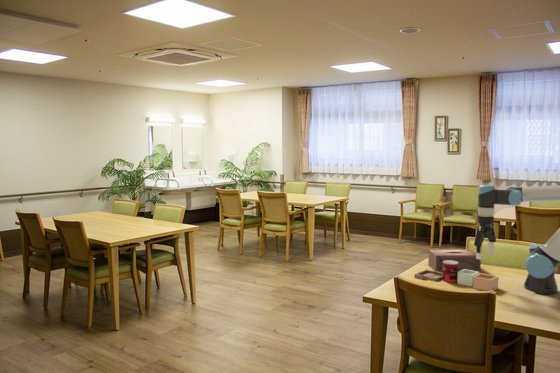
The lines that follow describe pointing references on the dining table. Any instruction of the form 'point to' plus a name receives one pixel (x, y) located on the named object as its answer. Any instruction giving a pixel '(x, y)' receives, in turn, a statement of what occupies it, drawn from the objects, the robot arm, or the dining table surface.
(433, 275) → the tray
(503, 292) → the dining table surface
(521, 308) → the dining table surface
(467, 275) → the mint green open box
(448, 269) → the canned food
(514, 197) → the robot arm
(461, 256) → the tissue box cover
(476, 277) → the pot
